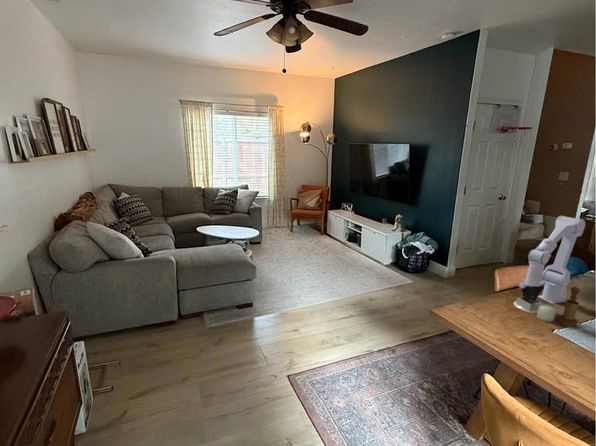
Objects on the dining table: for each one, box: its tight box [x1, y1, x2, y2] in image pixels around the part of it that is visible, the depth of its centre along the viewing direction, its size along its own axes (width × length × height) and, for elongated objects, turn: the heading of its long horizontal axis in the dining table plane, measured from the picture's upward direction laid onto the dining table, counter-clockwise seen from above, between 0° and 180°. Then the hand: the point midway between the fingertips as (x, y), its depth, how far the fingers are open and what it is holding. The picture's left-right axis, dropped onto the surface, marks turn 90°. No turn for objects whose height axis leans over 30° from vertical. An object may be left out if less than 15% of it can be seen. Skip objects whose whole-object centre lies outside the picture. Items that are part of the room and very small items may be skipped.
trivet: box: [513, 300, 538, 314], centre depth 154 cm, size 12×12×1 cm
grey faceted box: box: [516, 294, 543, 311], centre depth 154 cm, size 7×9×4 cm
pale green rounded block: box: [536, 303, 557, 323], centre depth 143 cm, size 6×6×6 cm
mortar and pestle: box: [557, 286, 581, 329], centre depth 137 cm, size 7×6×18 cm
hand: (529, 299), depth 153 cm, fingers open, 4 cm apart
